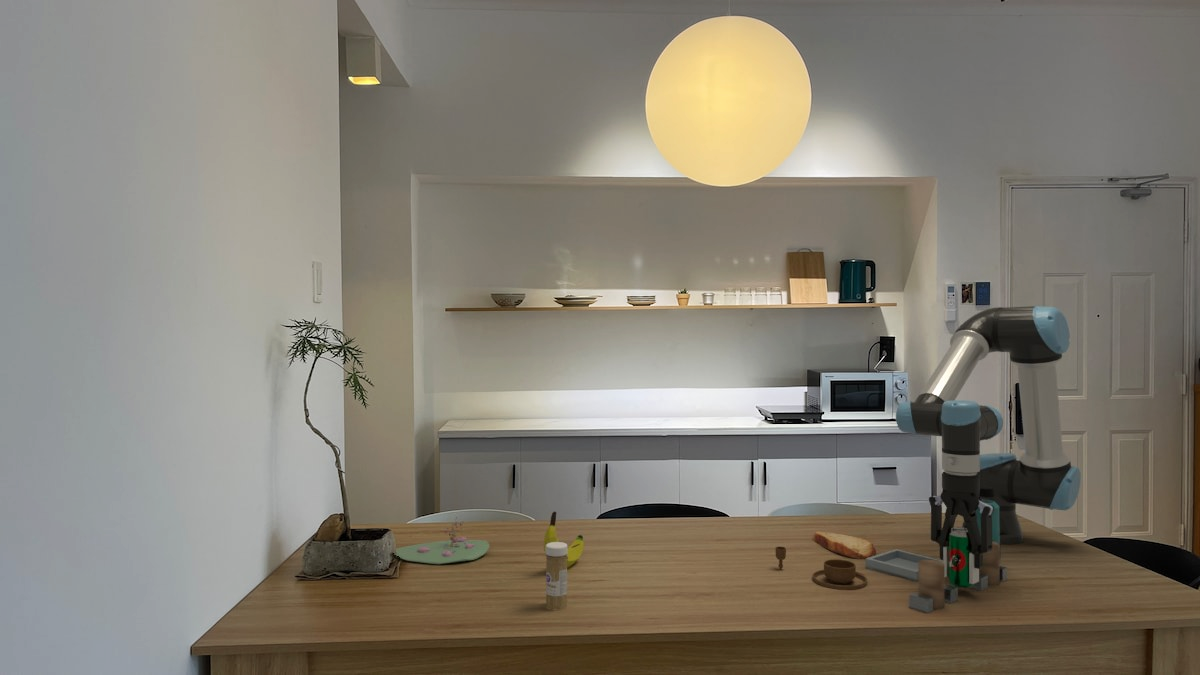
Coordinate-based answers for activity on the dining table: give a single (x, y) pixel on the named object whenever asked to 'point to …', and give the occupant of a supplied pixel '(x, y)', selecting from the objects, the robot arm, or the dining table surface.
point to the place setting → (832, 572)
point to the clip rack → (950, 593)
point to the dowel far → (992, 565)
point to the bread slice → (845, 545)
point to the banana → (550, 536)
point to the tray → (897, 564)
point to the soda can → (959, 557)
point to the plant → (445, 550)
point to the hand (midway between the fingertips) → (960, 578)
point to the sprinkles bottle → (556, 576)
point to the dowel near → (931, 581)
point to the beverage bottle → (989, 492)
